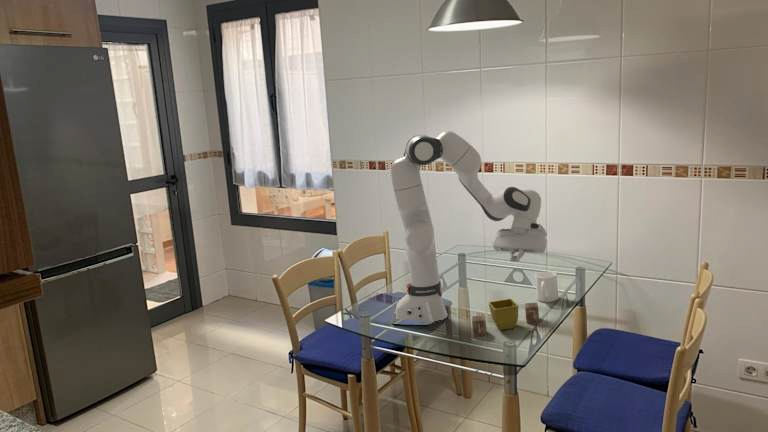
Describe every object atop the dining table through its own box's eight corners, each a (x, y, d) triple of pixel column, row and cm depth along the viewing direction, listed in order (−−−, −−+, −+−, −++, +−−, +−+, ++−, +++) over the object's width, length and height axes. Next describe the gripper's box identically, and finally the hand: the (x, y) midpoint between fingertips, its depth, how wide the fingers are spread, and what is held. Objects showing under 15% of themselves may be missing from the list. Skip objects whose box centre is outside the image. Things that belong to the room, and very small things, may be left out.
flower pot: (490, 324, 215) (488, 301, 213) (513, 321, 215) (511, 298, 214) (497, 333, 206) (494, 309, 205) (521, 329, 207) (518, 305, 205)
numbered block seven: (526, 323, 212) (525, 307, 211) (526, 318, 216) (524, 303, 215) (539, 322, 211) (538, 306, 210) (538, 317, 216) (537, 302, 214)
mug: (554, 306, 225) (552, 280, 223) (532, 305, 229) (530, 280, 227) (560, 296, 235) (558, 271, 233) (539, 295, 239) (537, 271, 237)
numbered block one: (473, 337, 206) (472, 321, 205) (474, 332, 210) (472, 316, 209) (486, 336, 205) (484, 320, 204) (486, 331, 209) (484, 315, 208)
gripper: (495, 224, 227) (486, 255, 221) (545, 225, 214) (537, 258, 208) (501, 233, 231) (492, 263, 225) (551, 234, 218) (543, 266, 213)
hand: (514, 261), depth 217 cm, fingers closed
